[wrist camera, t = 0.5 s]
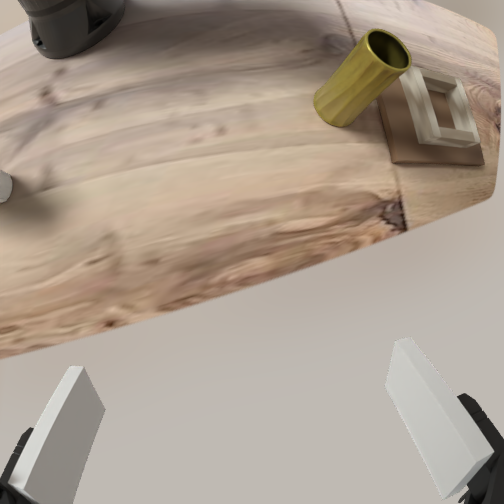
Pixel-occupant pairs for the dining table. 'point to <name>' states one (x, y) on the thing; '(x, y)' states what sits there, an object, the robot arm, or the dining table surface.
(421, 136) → the stand
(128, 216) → the dining table surface
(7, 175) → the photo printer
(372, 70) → the vase
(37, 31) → the robot arm
